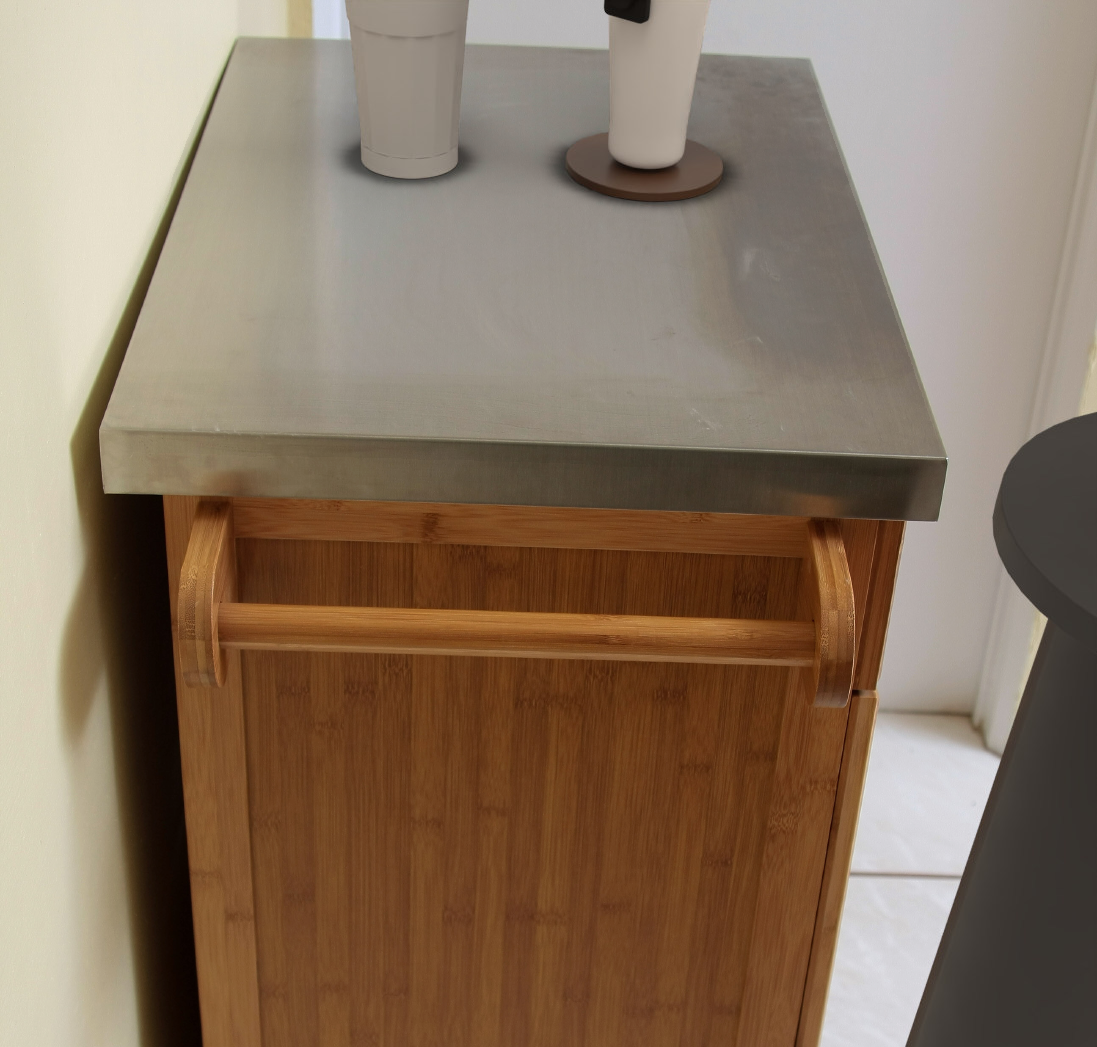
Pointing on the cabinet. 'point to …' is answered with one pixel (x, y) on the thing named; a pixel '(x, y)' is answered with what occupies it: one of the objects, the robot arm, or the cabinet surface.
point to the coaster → (643, 172)
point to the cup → (408, 83)
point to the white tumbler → (654, 82)
